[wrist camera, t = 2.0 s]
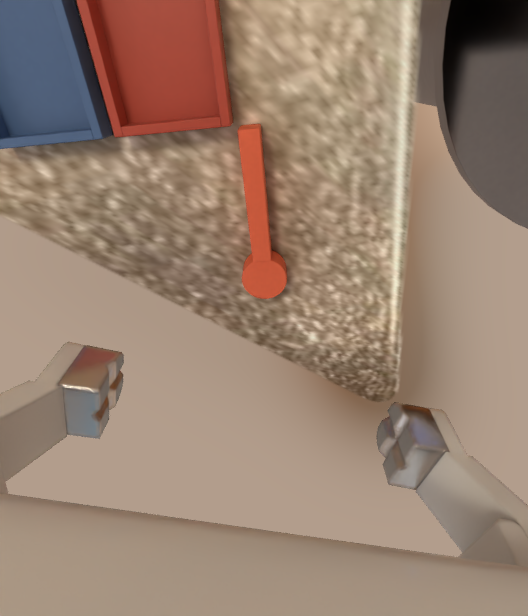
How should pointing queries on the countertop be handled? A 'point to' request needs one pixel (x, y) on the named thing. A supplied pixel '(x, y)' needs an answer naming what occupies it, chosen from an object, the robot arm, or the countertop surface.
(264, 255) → the red spoon
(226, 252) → the countertop surface
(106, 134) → the blue tray
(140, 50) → the red tray
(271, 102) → the countertop surface
